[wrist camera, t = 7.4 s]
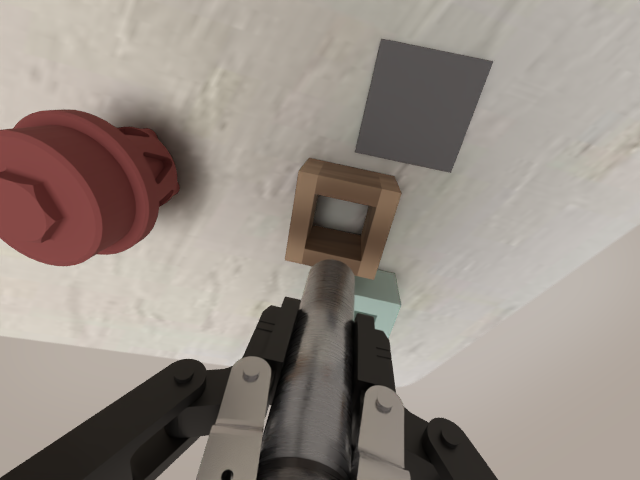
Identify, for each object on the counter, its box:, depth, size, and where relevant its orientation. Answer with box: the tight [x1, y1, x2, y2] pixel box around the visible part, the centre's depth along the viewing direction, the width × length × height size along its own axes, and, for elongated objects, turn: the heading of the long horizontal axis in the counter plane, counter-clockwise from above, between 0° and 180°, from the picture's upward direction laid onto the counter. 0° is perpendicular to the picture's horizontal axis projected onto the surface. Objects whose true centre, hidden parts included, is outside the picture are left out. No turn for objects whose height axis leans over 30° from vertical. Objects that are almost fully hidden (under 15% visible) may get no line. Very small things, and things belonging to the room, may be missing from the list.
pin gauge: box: [256, 259, 355, 480], centre depth 12 cm, size 3×3×11 cm
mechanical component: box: [0, 110, 180, 266], centre depth 22 cm, size 12×10×10 cm
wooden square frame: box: [285, 158, 402, 280], centre depth 25 cm, size 7×7×5 cm
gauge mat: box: [355, 39, 493, 173], centre depth 23 cm, size 8×8×1 cm
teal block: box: [354, 270, 401, 339], centre depth 29 cm, size 7×7×5 cm
